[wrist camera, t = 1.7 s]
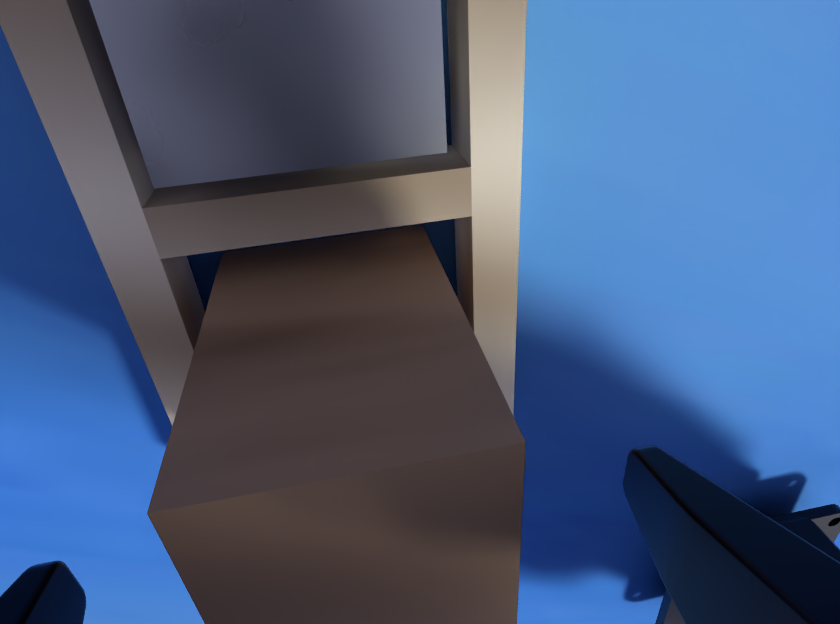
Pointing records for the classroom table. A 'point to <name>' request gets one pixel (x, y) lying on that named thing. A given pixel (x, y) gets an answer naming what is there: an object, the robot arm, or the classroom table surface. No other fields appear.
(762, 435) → the classroom table surface
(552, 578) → the classroom table surface
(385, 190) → the wooden compartment frame
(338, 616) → the walnut block
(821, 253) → the classroom table surface
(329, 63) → the grey block
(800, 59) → the classroom table surface
